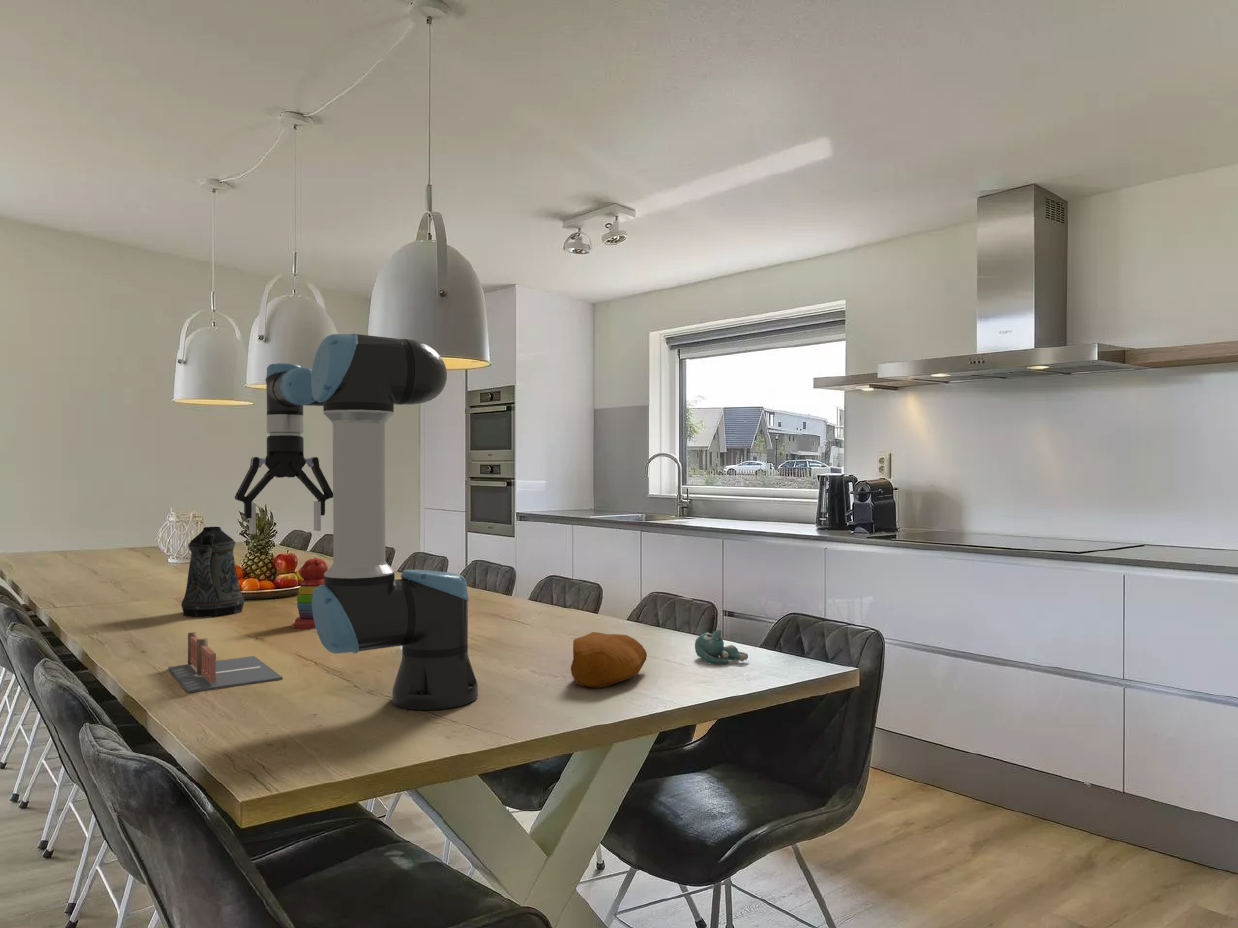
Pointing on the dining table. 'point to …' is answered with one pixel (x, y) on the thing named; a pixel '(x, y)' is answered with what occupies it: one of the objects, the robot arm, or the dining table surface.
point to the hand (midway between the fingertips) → (285, 532)
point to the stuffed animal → (716, 649)
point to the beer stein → (212, 576)
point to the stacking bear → (309, 591)
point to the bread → (606, 659)
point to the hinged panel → (208, 664)
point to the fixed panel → (195, 651)
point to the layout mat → (225, 674)
